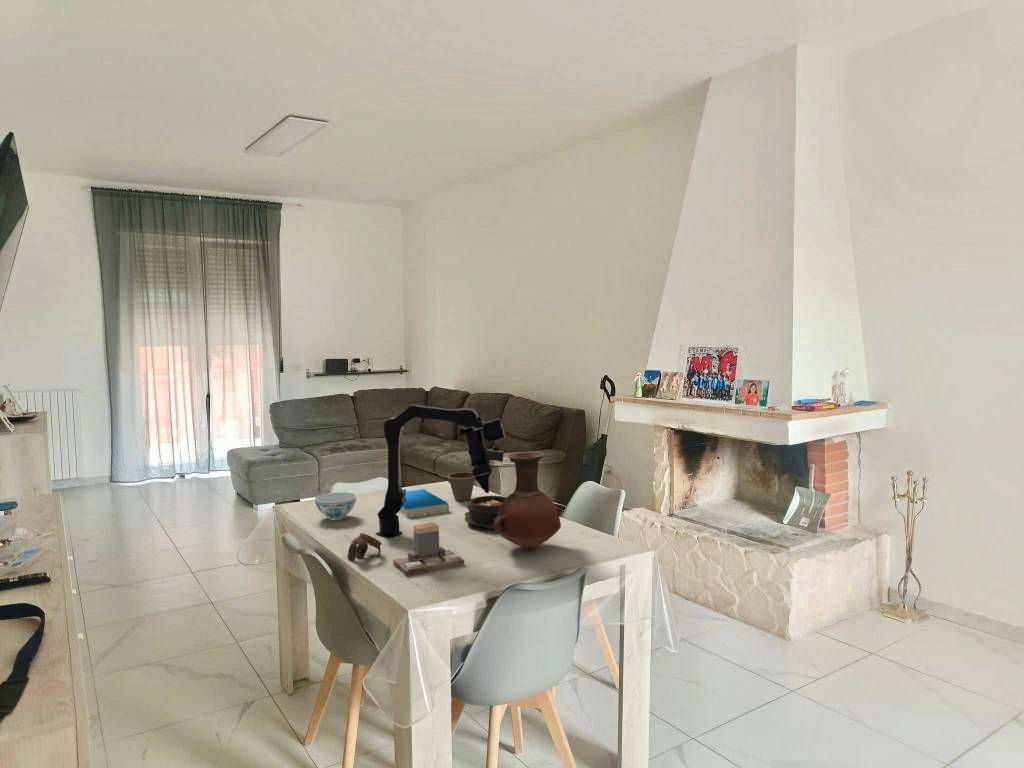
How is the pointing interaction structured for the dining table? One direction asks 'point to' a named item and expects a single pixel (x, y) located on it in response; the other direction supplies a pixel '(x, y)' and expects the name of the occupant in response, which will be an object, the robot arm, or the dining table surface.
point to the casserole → (483, 511)
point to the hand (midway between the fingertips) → (486, 489)
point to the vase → (527, 506)
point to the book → (422, 503)
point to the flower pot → (462, 485)
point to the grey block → (426, 540)
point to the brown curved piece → (362, 546)
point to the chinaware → (335, 504)
